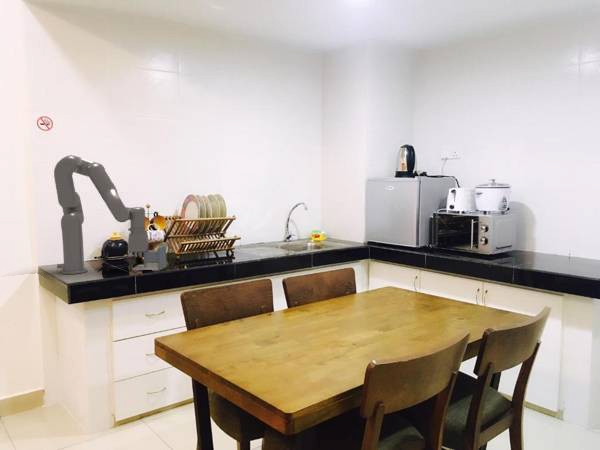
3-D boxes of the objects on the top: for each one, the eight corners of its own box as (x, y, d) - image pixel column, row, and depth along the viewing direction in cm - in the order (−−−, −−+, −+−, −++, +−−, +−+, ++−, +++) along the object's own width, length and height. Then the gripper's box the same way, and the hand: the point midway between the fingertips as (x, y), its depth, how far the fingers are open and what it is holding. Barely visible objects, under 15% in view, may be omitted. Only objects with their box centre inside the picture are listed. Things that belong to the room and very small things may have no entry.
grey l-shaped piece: (132, 270, 262) (131, 247, 261) (139, 266, 273) (138, 244, 271) (160, 270, 261) (159, 248, 260) (166, 266, 272) (166, 245, 271)
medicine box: (161, 266, 269) (160, 250, 268) (158, 267, 264) (158, 251, 264) (146, 265, 269) (146, 250, 268) (143, 267, 265) (143, 251, 264)
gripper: (121, 231, 262) (123, 265, 263) (149, 231, 261) (150, 265, 263) (127, 229, 269) (128, 262, 271) (154, 229, 269) (155, 263, 270)
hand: (139, 264), depth 267 cm, fingers closed
